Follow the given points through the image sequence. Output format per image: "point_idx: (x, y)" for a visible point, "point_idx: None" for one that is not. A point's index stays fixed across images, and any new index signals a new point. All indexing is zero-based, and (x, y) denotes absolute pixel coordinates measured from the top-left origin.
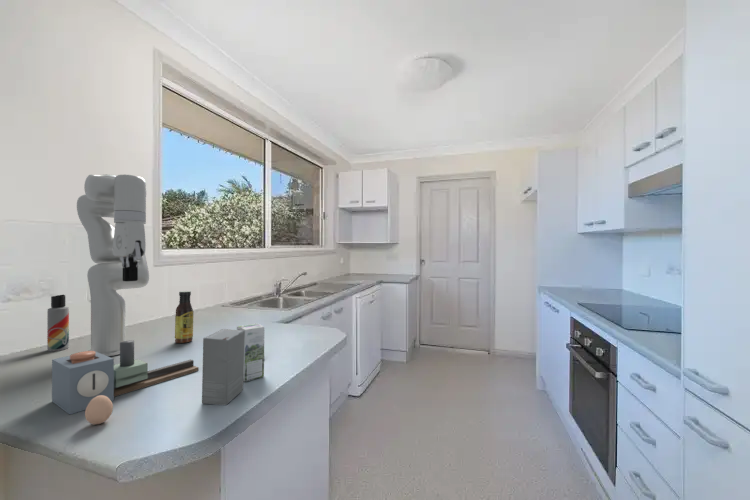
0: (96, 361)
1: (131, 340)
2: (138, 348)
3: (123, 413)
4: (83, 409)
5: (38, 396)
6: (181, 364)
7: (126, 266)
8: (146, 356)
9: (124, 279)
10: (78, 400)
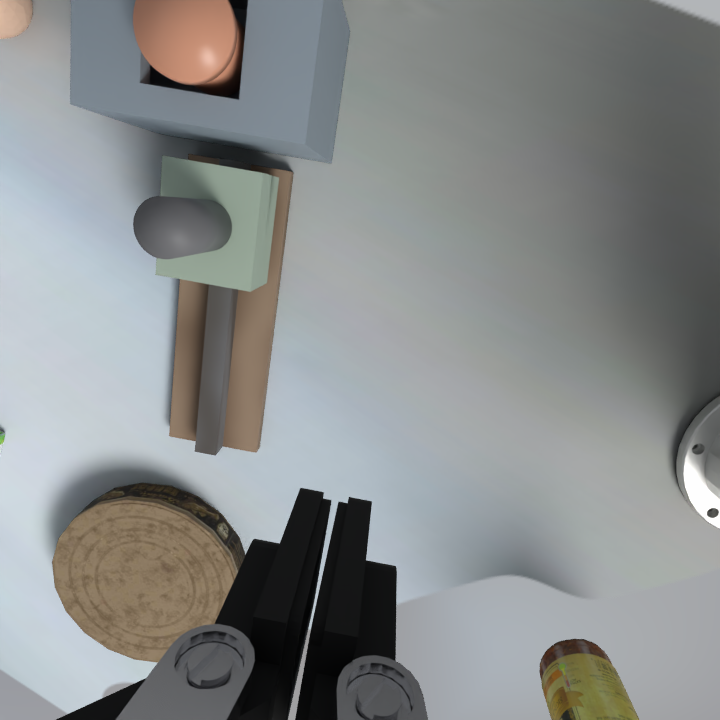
0: (90, 40)
1: (173, 255)
2: (686, 540)
3: (28, 88)
4: None
5: (457, 33)
6: (199, 407)
7: (239, 650)
8: (531, 477)
9: (312, 497)
10: None
